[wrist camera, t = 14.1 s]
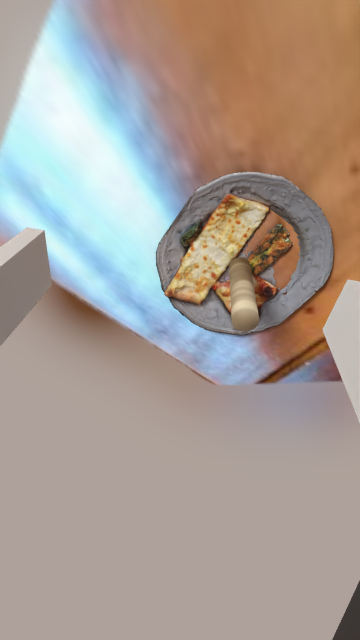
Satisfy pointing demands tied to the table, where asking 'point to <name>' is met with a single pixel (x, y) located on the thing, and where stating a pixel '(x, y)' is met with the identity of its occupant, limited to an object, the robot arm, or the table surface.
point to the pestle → (242, 295)
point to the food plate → (242, 249)
